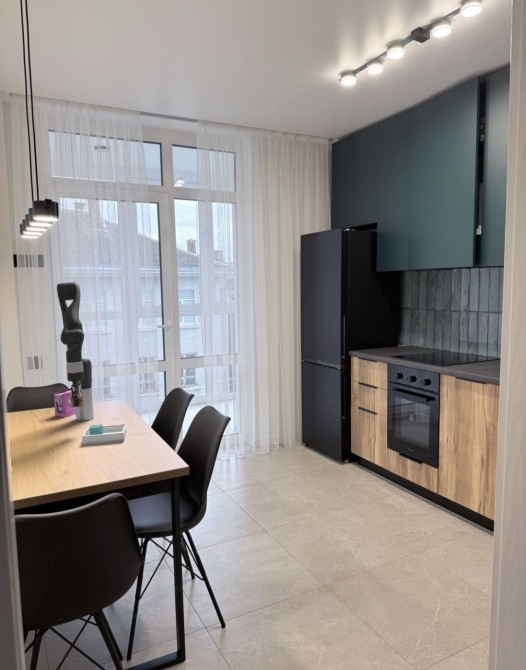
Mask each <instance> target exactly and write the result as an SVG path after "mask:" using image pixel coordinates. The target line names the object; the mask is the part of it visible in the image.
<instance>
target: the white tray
mask: <svg viewBox="0 0 526 670" xmlns="http://www.w3.org/2000/svg"><path fill="white" fill-rule="evenodd" d="M90 427H91V426H87V428H86V429H85V430H84V433H83V434H82V436H81V439H82V440H81V441H82V445H83V446H87V445H88V446H89V445H97V444H98V445H99V444H108V443H118V442H124V441H125V439H126V435H127V432H128V430H127V428H128V427H127V423H119V424H108V425H107V424H106V425H103V424H102V428H103V434H98V435H90Z"/></svg>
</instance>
